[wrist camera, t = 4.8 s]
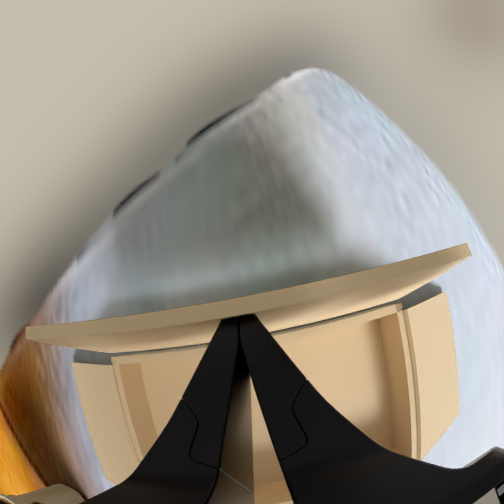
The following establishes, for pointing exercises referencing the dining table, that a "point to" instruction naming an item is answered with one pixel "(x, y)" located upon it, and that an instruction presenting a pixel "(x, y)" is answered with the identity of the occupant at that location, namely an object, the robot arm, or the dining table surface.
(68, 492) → the flower pot
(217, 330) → the robot arm
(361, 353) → the carton
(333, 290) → the flap
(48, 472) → the dining table surface
